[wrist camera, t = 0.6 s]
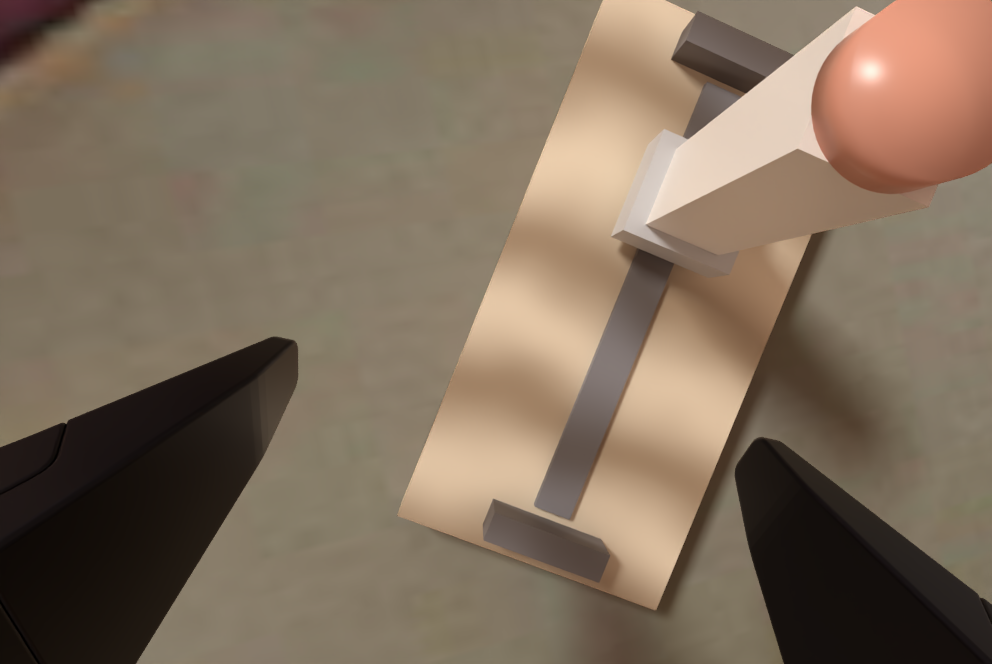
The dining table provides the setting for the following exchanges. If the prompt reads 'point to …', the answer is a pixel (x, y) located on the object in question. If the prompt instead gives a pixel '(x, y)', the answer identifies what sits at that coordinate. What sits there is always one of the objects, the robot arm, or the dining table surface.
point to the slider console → (605, 330)
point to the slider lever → (824, 138)
